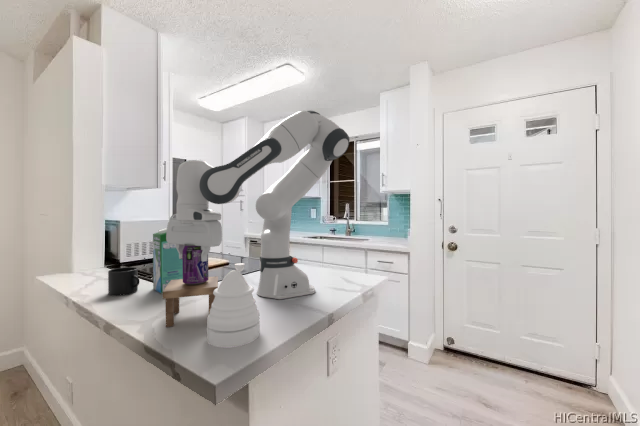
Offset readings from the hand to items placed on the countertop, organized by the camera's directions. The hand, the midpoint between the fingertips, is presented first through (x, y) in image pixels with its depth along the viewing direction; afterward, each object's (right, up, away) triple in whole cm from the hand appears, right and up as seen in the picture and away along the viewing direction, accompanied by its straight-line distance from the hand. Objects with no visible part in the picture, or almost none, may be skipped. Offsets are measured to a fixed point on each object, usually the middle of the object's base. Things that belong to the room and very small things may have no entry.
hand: (192, 260), depth 85 cm
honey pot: (+16, -17, -13) cm, 27 cm away
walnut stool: (0, -17, 0) cm, 17 cm away
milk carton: (-23, -17, +30) cm, 42 cm away
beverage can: (+1, -7, 0) cm, 7 cm away
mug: (-37, -17, +25) cm, 48 cm away
